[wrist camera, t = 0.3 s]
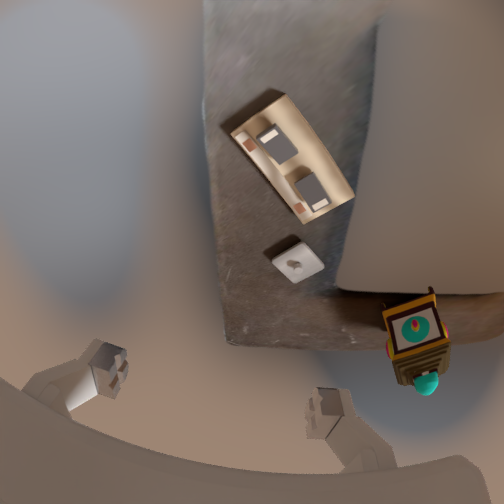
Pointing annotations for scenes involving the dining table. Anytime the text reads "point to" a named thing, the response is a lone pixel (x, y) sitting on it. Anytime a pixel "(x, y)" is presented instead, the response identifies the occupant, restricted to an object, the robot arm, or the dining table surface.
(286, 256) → the light switch
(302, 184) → the plate
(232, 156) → the dining table surface
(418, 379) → the decorative lantern
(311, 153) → the switch panel
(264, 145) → the plate
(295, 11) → the dining table surface
